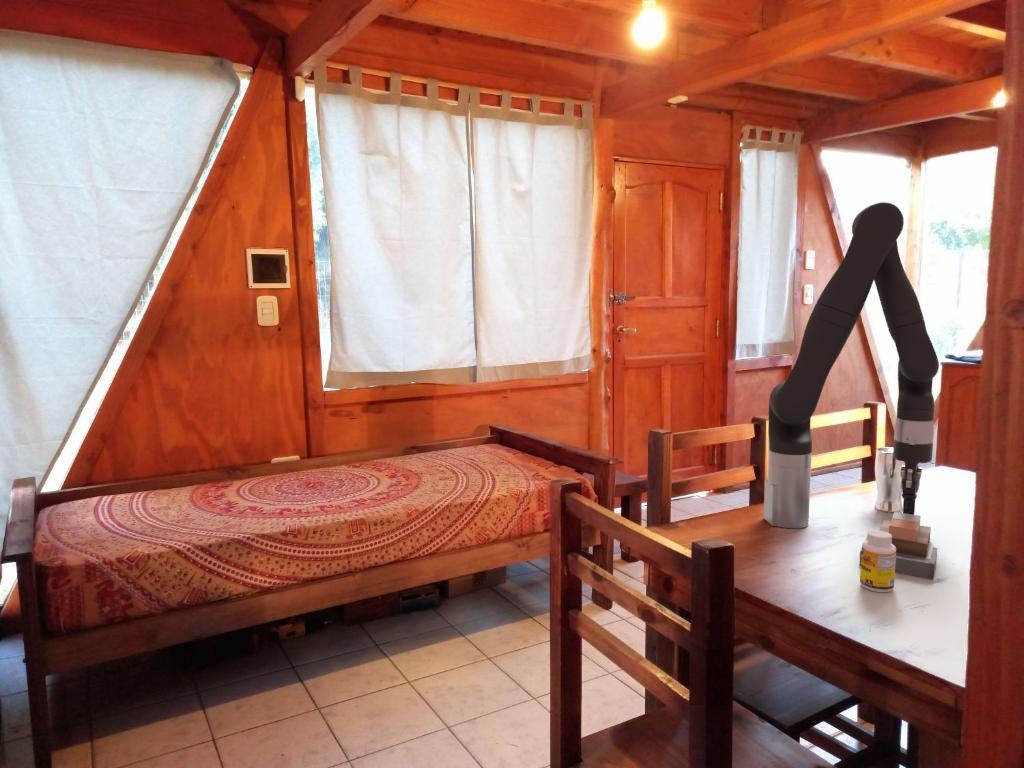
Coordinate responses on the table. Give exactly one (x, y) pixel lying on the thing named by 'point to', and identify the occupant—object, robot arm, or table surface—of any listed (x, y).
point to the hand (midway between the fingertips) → (908, 514)
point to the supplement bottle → (878, 562)
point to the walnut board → (908, 546)
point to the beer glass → (888, 481)
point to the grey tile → (907, 517)
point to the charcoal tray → (915, 564)
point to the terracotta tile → (904, 530)
